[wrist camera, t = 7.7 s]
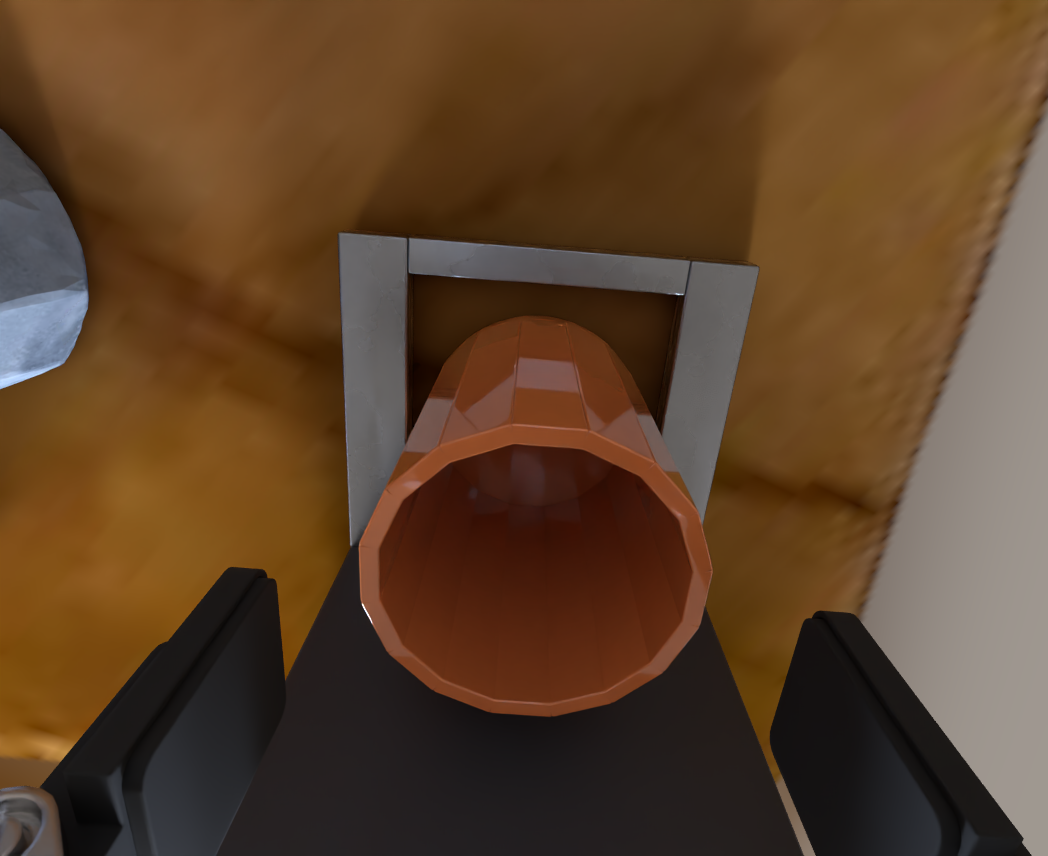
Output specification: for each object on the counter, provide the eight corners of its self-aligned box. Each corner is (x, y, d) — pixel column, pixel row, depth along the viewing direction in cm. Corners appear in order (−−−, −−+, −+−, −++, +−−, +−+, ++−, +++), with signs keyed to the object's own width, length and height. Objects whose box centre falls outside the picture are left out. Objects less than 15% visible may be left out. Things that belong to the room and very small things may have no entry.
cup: (433, 306, 19) (353, 411, 10) (652, 323, 19) (744, 441, 11) (429, 498, 21) (363, 705, 13) (621, 513, 21) (676, 726, 13)
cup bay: (346, 228, 18) (336, 231, 17) (749, 261, 18) (761, 266, 17) (357, 532, 22) (349, 548, 21) (686, 556, 22) (693, 573, 21)
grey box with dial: (357, 532, 22) (103, 1044, 9) (686, 556, 22) (901, 1092, 9) (363, 697, 25) (180, 1255, 12) (652, 718, 25) (775, 1288, 12)
